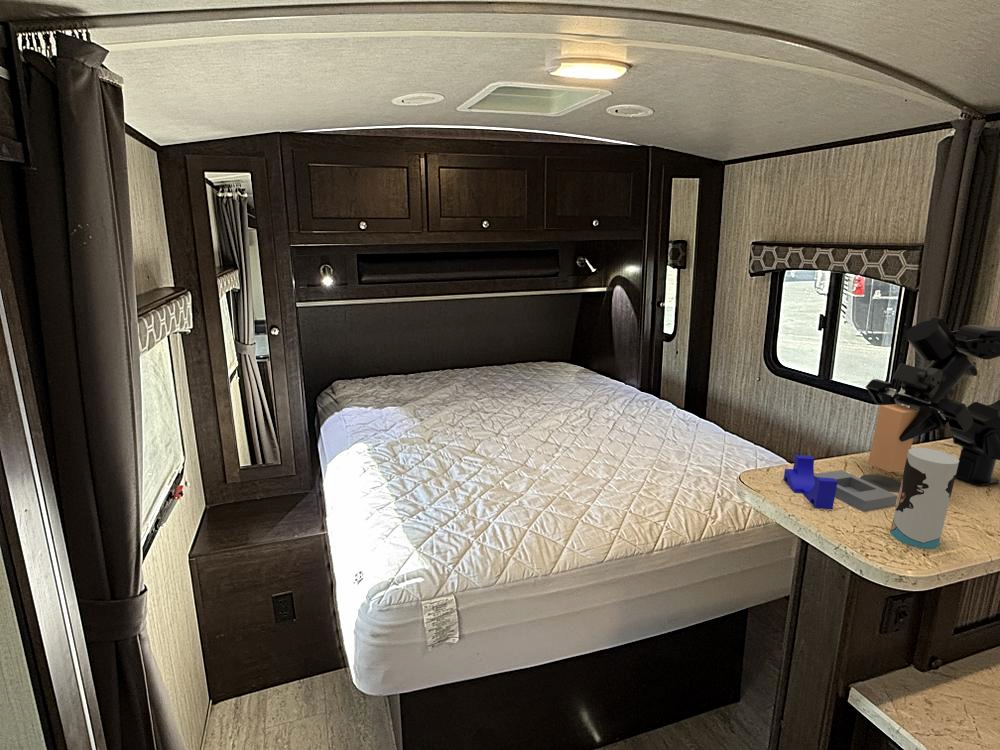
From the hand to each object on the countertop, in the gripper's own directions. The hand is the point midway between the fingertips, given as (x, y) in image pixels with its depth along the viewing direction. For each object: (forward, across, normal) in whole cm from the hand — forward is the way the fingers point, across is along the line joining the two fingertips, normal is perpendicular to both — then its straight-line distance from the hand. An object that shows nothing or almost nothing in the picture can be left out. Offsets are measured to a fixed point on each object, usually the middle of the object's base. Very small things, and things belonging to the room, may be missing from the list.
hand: (888, 435), depth 119 cm
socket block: (+14, +2, +1) cm, 15 cm away
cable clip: (+20, -1, -5) cm, 21 cm away
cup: (+17, +18, -2) cm, 25 cm away
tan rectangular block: (+4, 0, +6) cm, 7 cm away
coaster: (+7, 0, +8) cm, 11 cm away
